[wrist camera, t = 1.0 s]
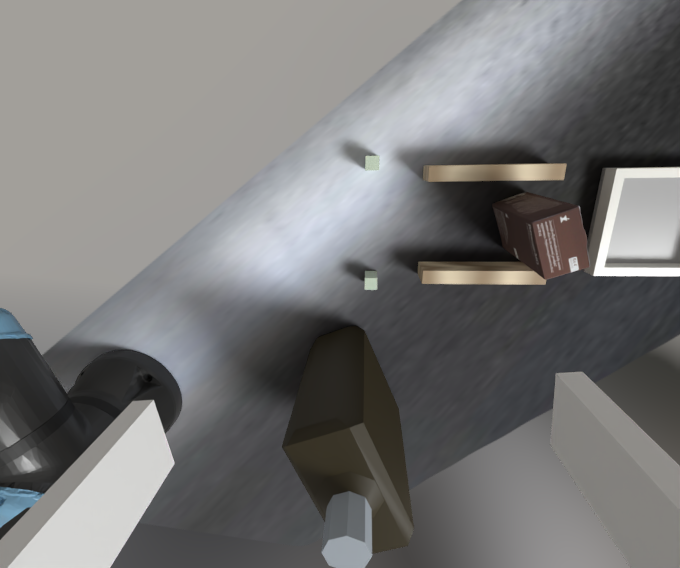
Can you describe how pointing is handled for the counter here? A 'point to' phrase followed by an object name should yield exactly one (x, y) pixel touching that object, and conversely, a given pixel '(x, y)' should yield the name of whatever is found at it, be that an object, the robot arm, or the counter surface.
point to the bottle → (350, 450)
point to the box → (543, 233)
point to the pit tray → (636, 223)
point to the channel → (485, 270)
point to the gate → (371, 276)
